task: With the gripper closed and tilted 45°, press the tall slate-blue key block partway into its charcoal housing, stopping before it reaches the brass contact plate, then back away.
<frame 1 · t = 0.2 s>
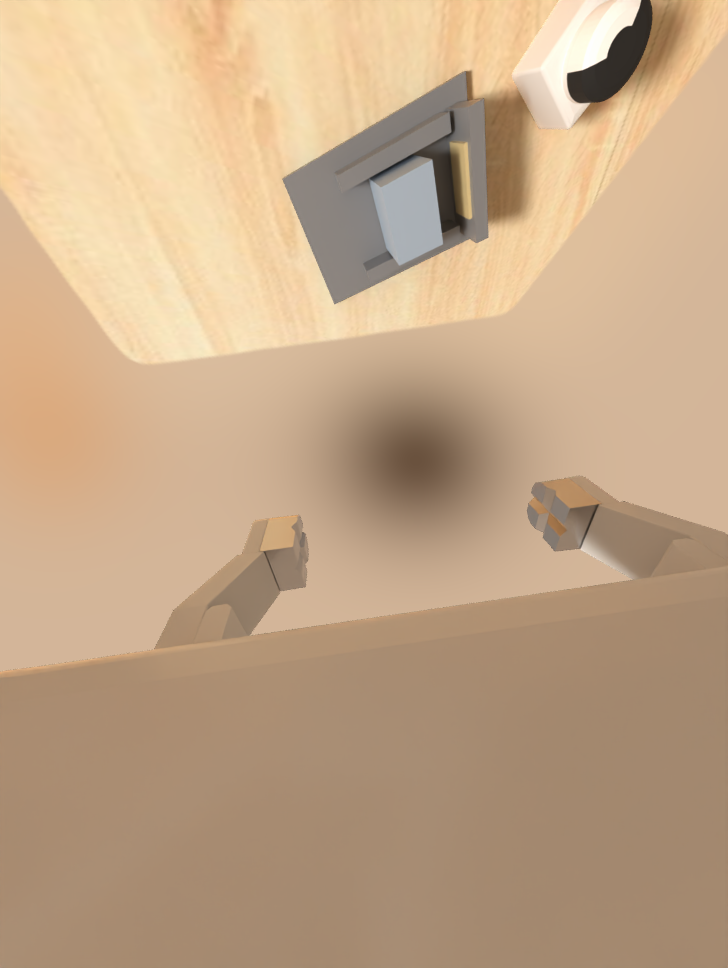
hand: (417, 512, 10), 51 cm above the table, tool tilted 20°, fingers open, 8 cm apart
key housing: (386, 208, 43), on the table
key block: (405, 211, 39), point 6 cm above the table, slide at 0.0 cm
medicine bottle: (550, 65, 36), on the table
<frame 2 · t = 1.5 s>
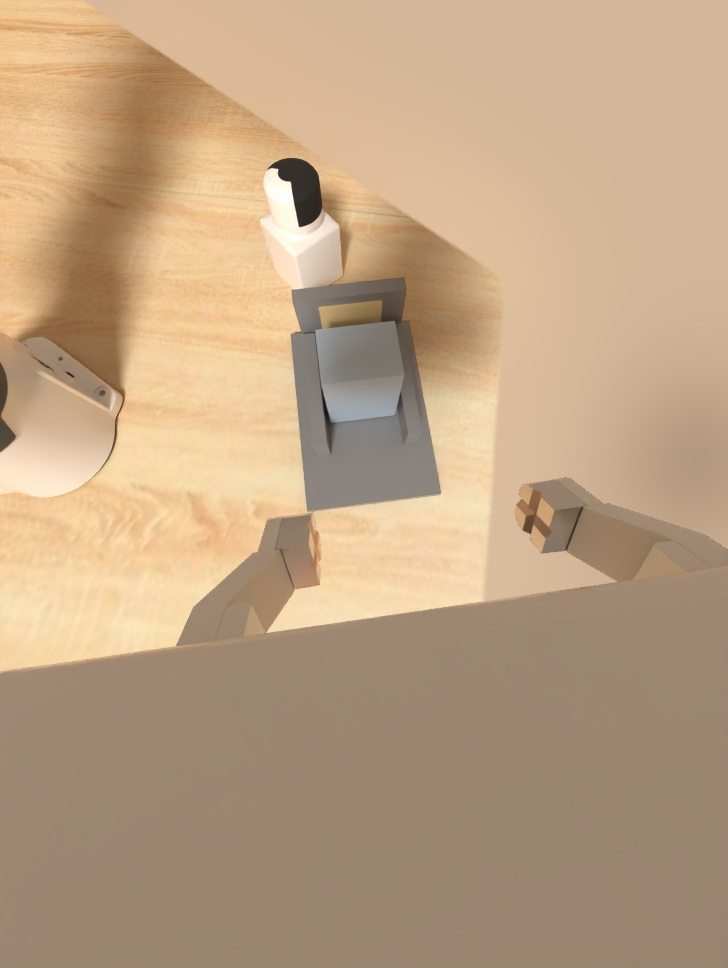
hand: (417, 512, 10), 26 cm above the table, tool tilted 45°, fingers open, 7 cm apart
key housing: (361, 412, 39), on the table
key block: (359, 377, 34), point 6 cm above the table, slide at 0.0 cm
medicine bottle: (309, 275, 44), on the table
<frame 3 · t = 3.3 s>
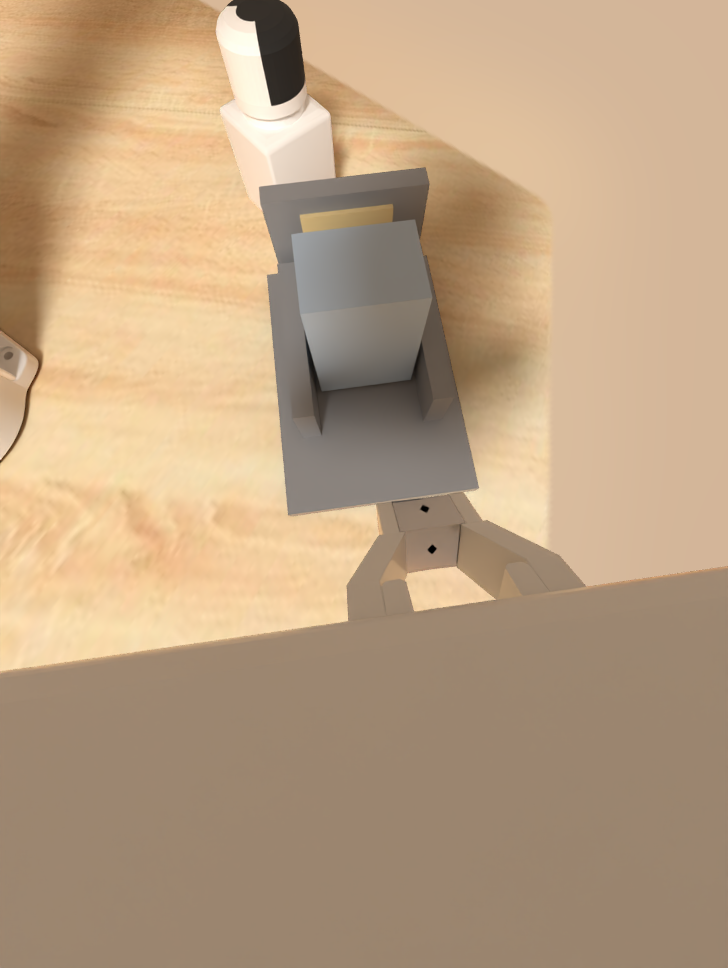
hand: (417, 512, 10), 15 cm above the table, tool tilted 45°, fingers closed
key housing: (364, 378, 28), on the table
key block: (360, 319, 23), point 6 cm above the table, slide at 0.0 cm
medicine bottle: (294, 204, 33), on the table
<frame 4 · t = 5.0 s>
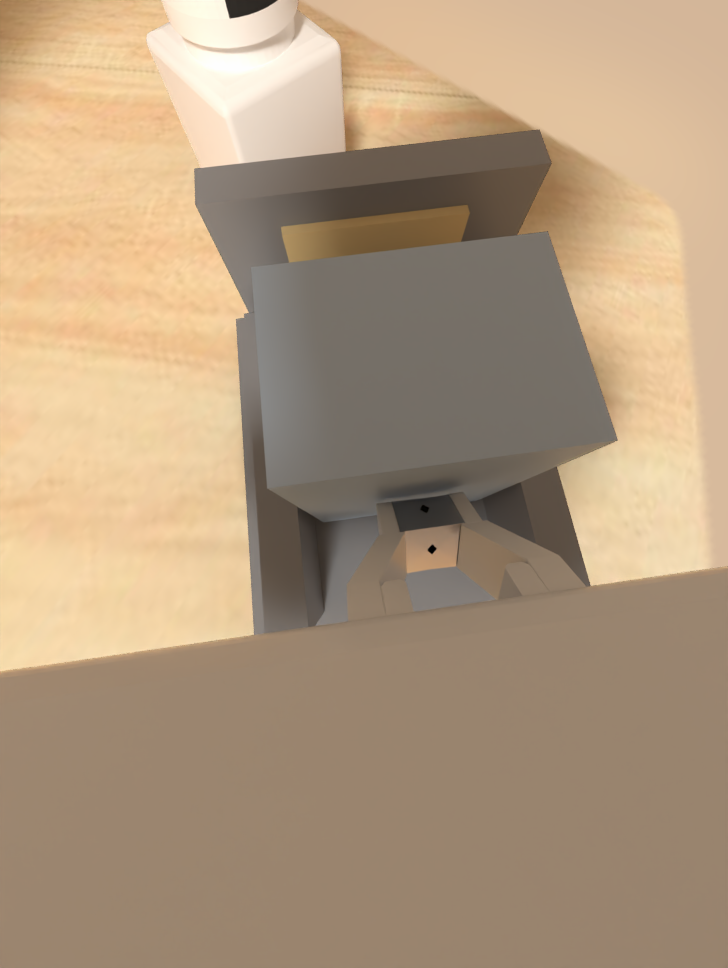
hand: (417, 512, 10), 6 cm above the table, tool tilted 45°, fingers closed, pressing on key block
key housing: (394, 494, 17), on the table
key block: (400, 422, 12), point 6 cm above the table, slide at 0.4 cm, touching gripper
medicine bottle: (281, 204, 22), on the table
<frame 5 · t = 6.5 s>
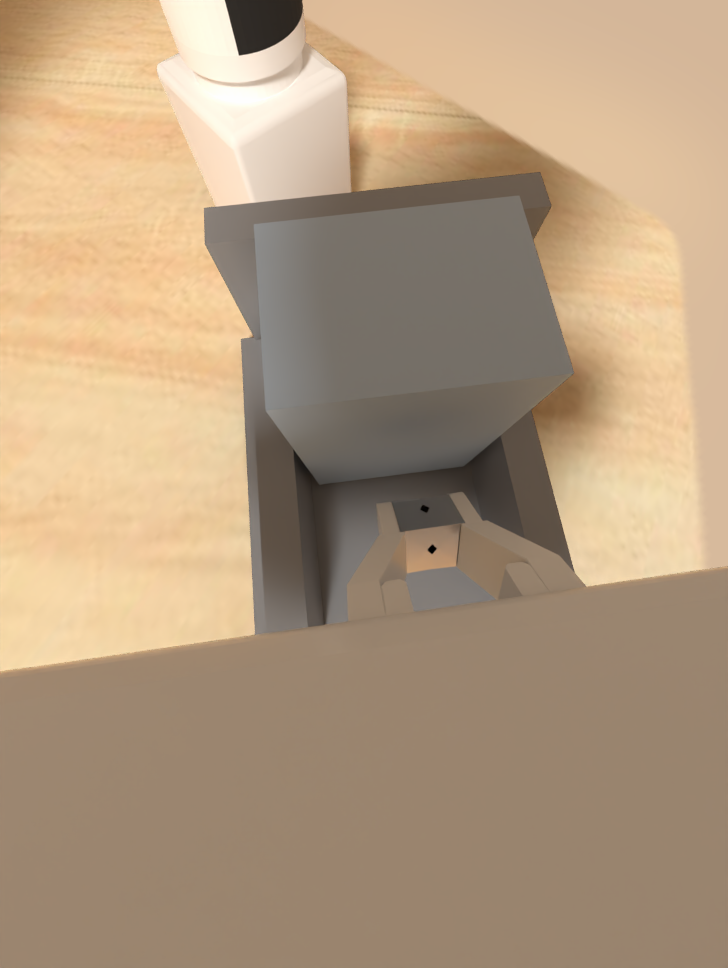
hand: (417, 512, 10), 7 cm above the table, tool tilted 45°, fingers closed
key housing: (395, 514, 17), on the table
key block: (390, 382, 13), point 6 cm above the table, slide at 3.5 cm
medicine bottle: (287, 223, 22), on the table
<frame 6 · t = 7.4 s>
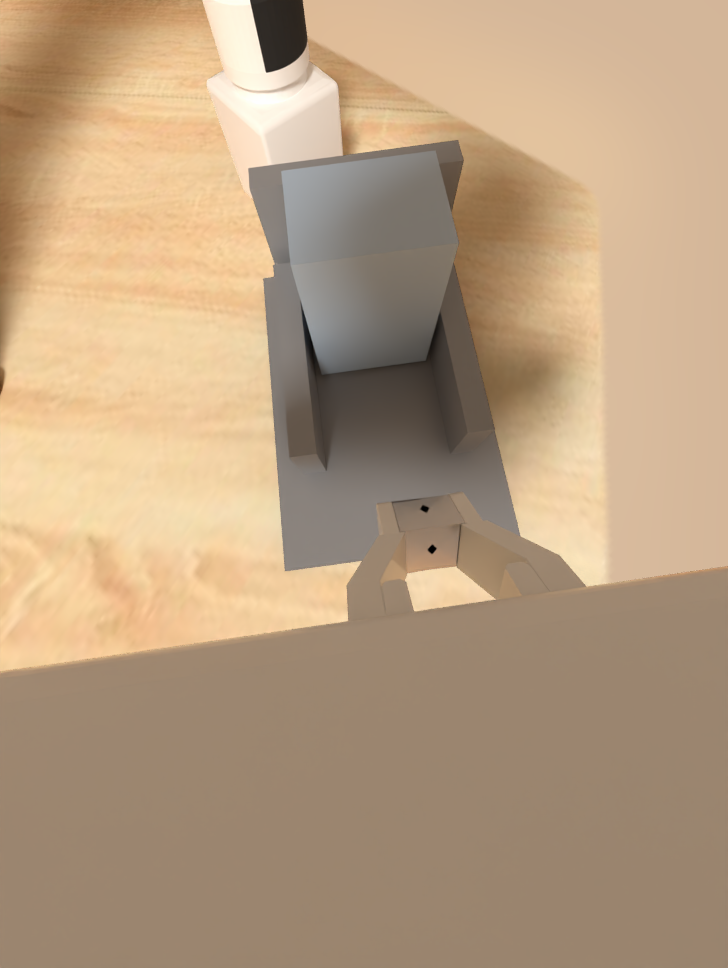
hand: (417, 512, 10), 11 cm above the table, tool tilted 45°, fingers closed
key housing: (377, 400, 24), on the table
key block: (367, 284, 19), point 6 cm above the table, slide at 3.5 cm
medicine bottle: (295, 197, 29), on the table
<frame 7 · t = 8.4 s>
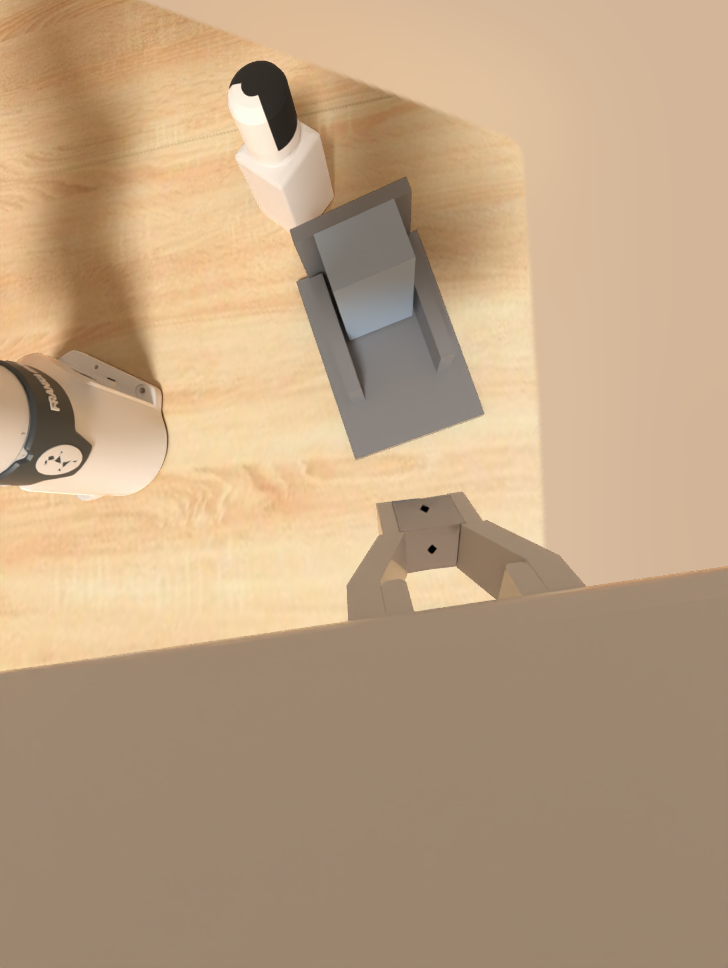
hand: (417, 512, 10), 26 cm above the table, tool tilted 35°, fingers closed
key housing: (386, 348, 37), on the table
key block: (368, 279, 32), point 6 cm above the table, slide at 3.5 cm
medicine bottle: (298, 207, 40), on the table
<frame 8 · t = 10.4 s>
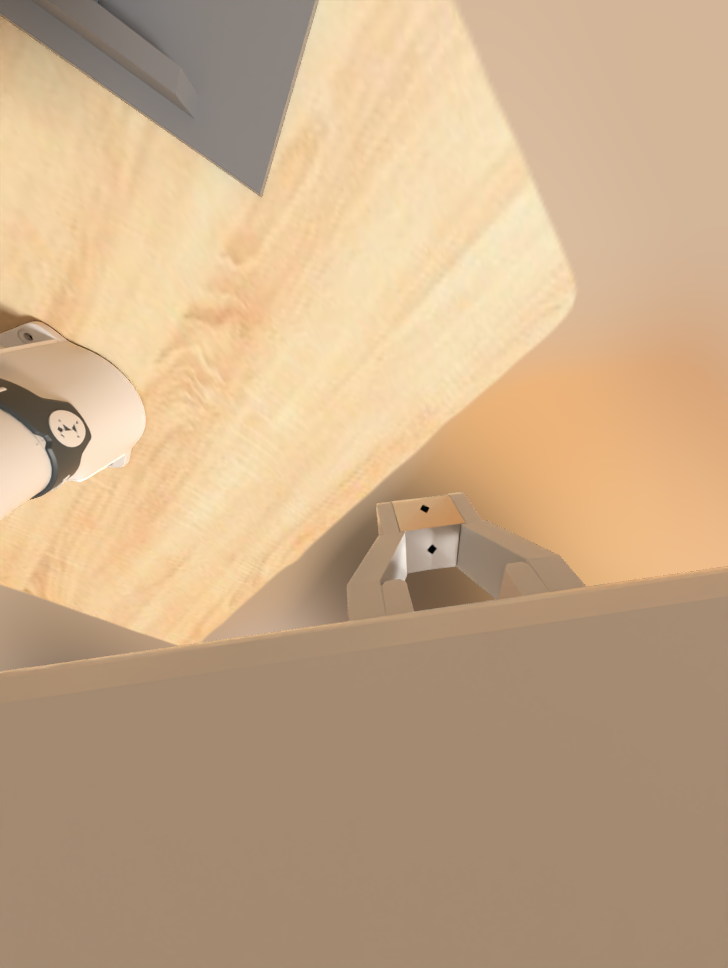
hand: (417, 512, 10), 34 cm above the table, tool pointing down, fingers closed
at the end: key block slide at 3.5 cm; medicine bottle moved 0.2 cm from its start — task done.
